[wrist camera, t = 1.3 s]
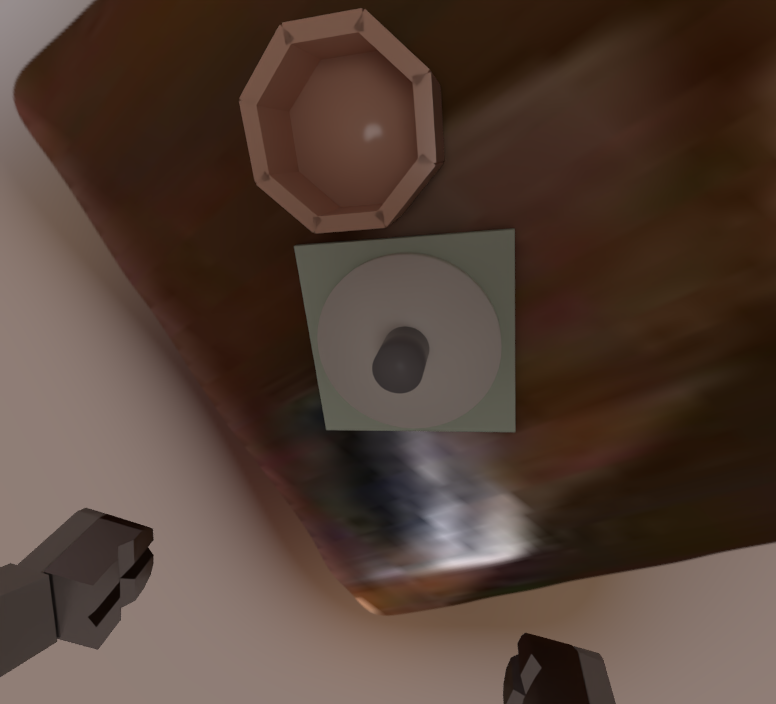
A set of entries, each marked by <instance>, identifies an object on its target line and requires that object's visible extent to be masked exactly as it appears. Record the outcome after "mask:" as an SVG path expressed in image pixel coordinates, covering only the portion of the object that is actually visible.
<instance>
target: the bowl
mask: <svg viewBox="0 0 776 704" xmlns="http://www.w3.org/2000/svg"><path fill="white" fill-rule="evenodd" d="M240 99H241V100H242V101H239V104H240V109H241V114H242V119H243V124H244V129H245V134H246V139H247V144H248V149H249V154H250V160H251V165H252V170H253V175H254V180H255V182H258V183H257V184H256V185H257V186H258V187H260V188H261V189H262V190H263V191H264V192H266V193H267V194H268V195H269V196H270V197H271V198H273V199H274V200H275V201H276V202H277V203H278V204H280V205H281V206H282V207H283V208H284V209H286V210H287V211H288V212H289V213H290V214H291V215H293V216H294V217H295V218H296V219H297V220H299V221H300V222H301V223H302V224H303V225H304V226H306V227H307V228H308V229H309V230H310V231H311V232H313V233H314V232H315V234H316V233H329V232H341V231H353V230H366V229H378V228H385V227H387V226H389V225H390V224H391V223H392V222H394V221H395V220H396V219H398V218H399V217H400V216H401V215H403V213H404V212H405V211H406V210H407V208H408V207H409V206H410V205H411V203H412V202H413V201H414V200H415V198H416V197H417V196H418V195H419V193H420V192H421V191H422V190H423V188H424V187H425V186H426V185H427V183H428V182H429V181H430V180H431V178H432V177H433V176H434V175H435V173H436V172H437V171H438V170H439V168H440V167H441V166H442V165H443V163H444V162H443V161H445V156H444V137H443V119H442V100H441V86H440V85H439V82H438V81H437V79H436V78H435V76H434V75H433V74H432V72H431V71H430V69H429V68H428V67H426V66H425V65H424V64H423V63H422V62H421V61H420V60H419V59H418V58H417V57H416V56H415V55H414V54H413V53H411V52H410V51H409V50H408V49H407V48H406V47H405V46H404V45H403V44H402V43H401V42H400V41H399V40H398V39H396V38H395V37H394V36H393V35H392V34H391V33H390V32H389V31H388V30H387V29H386V28H385V27H384V26H383V25H381V24H380V23H379V22H378V21H377V20H376V19H375V18H374V17H373V16H372V15H371V14H370V13H369V12H368V11H367V10H365V9H364V10H363V9H362V8H360V9H354V10H349V11H343V12H338V13H332V14H327V15H321V16H316V17H311V18H305V19H300V20H294V21H289V22H283V23H282V25H279V27H278V29H277V30H276V32H275V34H274V36H273V38H272V40H271V41H270V43H269V45H268V47H267V49H266V50H265V52H264V54H263V56H262V58H261V60H260V61H259V63H258V65H257V67H256V69H255V71H254V72H253V74H252V76H251V78H250V80H249V81H248V83H247V85H246V87H245V89H244V91H243V92H242V94H241V96H240Z"/></svg>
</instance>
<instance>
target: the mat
mask: <svg viewBox="0 0 776 704" xmlns="http://www.w3.org/2000/svg"><path fill="white" fill-rule="evenodd" d="M294 249H295V255H296V261H297V266H298V272H299V278H300V283H301V289H302V295H303V300H304V306H305V312H306V317H307V323H308V329H309V334H310V340H311V346H312V351H313V357H314V363H315V368H316V374H317V380H318V385H319V391H320V397H321V402H322V408H323V414H324V419H325V425H326V430H371V431H456V432H515V229H514V228H510V229H497V230H484V231H471V232H458V233H445V234H432V235H419V236H406V237H392V238H379V239H366V240H353V241H340V242H327V243H314V244H301V245H295V246H294ZM399 252H414V253H422V254H427V255H431V256H435V257H438V258H441V259H443V260H446V261H448V262H450V263H452V264H454V265H455V266H457V267H459V268H461V269H462V270H463V271H465V272H466V273H467V274H468V275H470V276H471V277H472V278H473V279H474V280H475V281H476V282H477V283H478V284H479V285H480V286H481V288H482V289H483V290H484V292H485V293H486V294H487V296H488V298H489V299H490V301H491V303H492V305H493V307H494V309H495V312H496V314H497V317H498V321H499V326H500V332H501V344H502V349H501V360H500V365H499V369H498V372H497V375H496V377H495V380H494V382H493V384H492V386H491V387H490V389H489V391H488V392H487V393H486V395H485V396H484V397H483V399H482V400H481V401H480V402H479V403H478V404H477V405H476V406H475V407H473V408H472V409H471V410H470V411H468V412H467V413H466V414H464V415H462V416H461V417H459V418H457V419H455V420H453V421H450V422H448V423H445V424H442V425H438V426H434V427H428V428H401V427H396V426H391V425H388V424H384V423H381V422H379V421H376V420H374V419H371V418H369V417H368V416H366V415H364V414H362V413H361V412H359V411H358V410H356V409H355V408H354V407H352V406H351V405H350V404H349V403H348V402H347V401H345V400H344V399H343V398H342V396H341V395H340V394H339V393H338V392H337V391H336V389H335V388H334V386H333V385H332V384H331V382H330V381H329V379H328V377H327V375H326V373H325V371H324V368H323V365H322V363H321V360H320V355H319V351H318V342H317V332H318V324H319V318H320V315H321V312H322V308H323V306H324V304H325V302H326V300H327V298H328V296H329V295H330V293H331V292H332V290H333V289H334V287H335V286H336V285H337V284H338V283H339V282H340V281H341V280H342V279H343V278H344V277H345V276H346V275H347V274H349V273H350V272H351V271H352V270H353V269H355V268H356V267H358V266H359V265H361V264H363V263H364V262H366V261H369V260H371V259H373V258H376V257H379V256H383V255H386V254H392V253H399Z"/></svg>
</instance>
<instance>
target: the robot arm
mask: <svg viewBox="0 0 776 704" xmlns="http://www.w3.org/2000/svg"><path fill="white" fill-rule="evenodd" d="M152 541H153V529H152V528H150V527H147V526H144V525H140V524H137V523H134V522H131V521H128V520H124V519H121V518H118V517H115V516H112V515H108V514H105V513H101V512H98V511H95V510H92V509H88V508H84V509H82V510H80V511H78V512H76V513H75V514H74V515H73V516H71V518H69V519H68V520H67V521H66V522H65V523H64V524H63V525H61V526H60V527H59V528H58V529H57V530H56V531H55V532H54V533H53V534H52V535H50V536H49V537H48V538H47V539H46V540H45V541H44V542H43V543H41V544H40V545H39V546H38V547H37V548H36V549H35V550H34V551H32V552H31V553H30V554H29V555H28V556H27V557H26V558H25V559H24V560H22V561H21V562H20V563H19V564H18V565H15V564H11V563H10V564H8V565H5V566H3V567H0V677H1V676H3V675H4V674H6V673H7V672H9V671H11V670H12V669H14V668H16V667H17V666H19V665H20V664H22V663H24V662H25V661H27V660H28V659H30V658H32V657H33V656H35V655H36V654H38V653H40V652H41V651H43V650H45V649H46V648H48V647H49V646H51V645H52V644H54V643H56V642H57V639H60V640H64V641H68V642H72V643H75V644H79V645H83V646H86V647H91V648H94V649H99V648H100V646H101V645H102V644H103V642H104V641H105V640H106V638H107V637H108V636H109V634H110V633H111V632H112V630H113V629H114V628H115V626H116V625H117V624H118V623H119V621H120V620H121V607H124V606H126V605H127V604H129V603H131V602H133V601H135V600H136V599H137V597H138V596H139V594H140V593H141V592H142V590H143V589H144V587H145V585H146V583H147V581H148V579H149V577H150V575H151V571H152V567H153V554H152V552H151V551H150V550H149V548H148V546H149V545H150V543H151V542H152ZM503 699H504V700H503V701H504V704H616V703H615V700H614V696H613V693H612V689H611V686H610V682H609V678H608V675H607V671H606V667H605V664H604V660H603V658H602V657H601V655H600V654H599V653H596V652H592V651H589V650H585V649H582V648H578V647H575V646H572V645H569V644H565V643H562V642H558V641H555V640H551V639H547V638H543V637H540V636H536V635H532V634H528V633H524V634H523V635H522V636H521V638H520V640H519V642H518V655H516V656H513V657H511V659H510V661H509V663H508V666H507V668H506V673H505V678H504V688H503Z"/></svg>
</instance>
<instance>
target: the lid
mask: <svg viewBox="0 0 776 704" xmlns="http://www.w3.org/2000/svg"><path fill="white" fill-rule="evenodd" d="M317 342H318V351H319V355H320V360H321V363H322V365H323V368H324V371H325V373H326V375H327V377H328V379H329V381H330V382H331V384H332V385H333V386H334V388H335V389H336V391H337V392H338V393H339V394H340V395H341V396H342V398H343V399H344V400H345V401H347V402H348V403H349V404H350V405H351V406H352V407H354V408H355V409H356V410H358V411H359V412H361V413H362V414H364V415H366V416H368V417H369V418H371V419H374V420H376V421H379V422H381V423H384V424H388V425H391V426H396V427H401V428H428V427H434V426H438V425H442V424H445V423H448V422H450V421H453V420H455V419H457V418H459V417H461V416H462V415H464V414H466V413H467V412H468V411H470V410H471V409H472V408H473V407H475V406H476V405H477V404H478V403H479V402H480V401H481V400H482V399H483V397H484V396H485V395H486V393H487V392H488V391H489V389H490V387H491V386H492V384H493V382H494V380H495V377H496V375H497V372H498V369H499V365H500V360H501V349H502V344H501V332H500V326H499V321H498V317H497V314H496V312H495V309H494V307H493V305H492V303H491V301H490V299H489V298H488V296H487V294H486V293H485V292H484V290H483V289H482V288H481V286H480V285H479V284H478V283H477V282H476V281H475V280H474V279H473V278H472V277H471V276H470V275H468V274H467V273H466V272H465V271H463V270H462V269H461V268H459V267H457V266H455V265H454V264H452V263H450V262H448V261H446V260H443V259H441V258H438V257H435V256H431V255H427V254H422V253H414V252H399V253H392V254H386V255H383V256H379V257H376V258H373V259H371V260H369V261H366V262H364V263H363V264H361V265H359V266H358V267H356V268H355V269H353V270H352V271H351V272H350V273H349V274H347V275H346V276H345V277H344V278H343V279H342V280H341V281H340V282H339V283H338V284H337V285H336V286H335V287H334V289H333V290H332V292H331V293H330V295H329V296H328V298H327V300H326V302H325V304H324V306H323V308H322V312H321V315H320V318H319V324H318V332H317Z"/></svg>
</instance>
